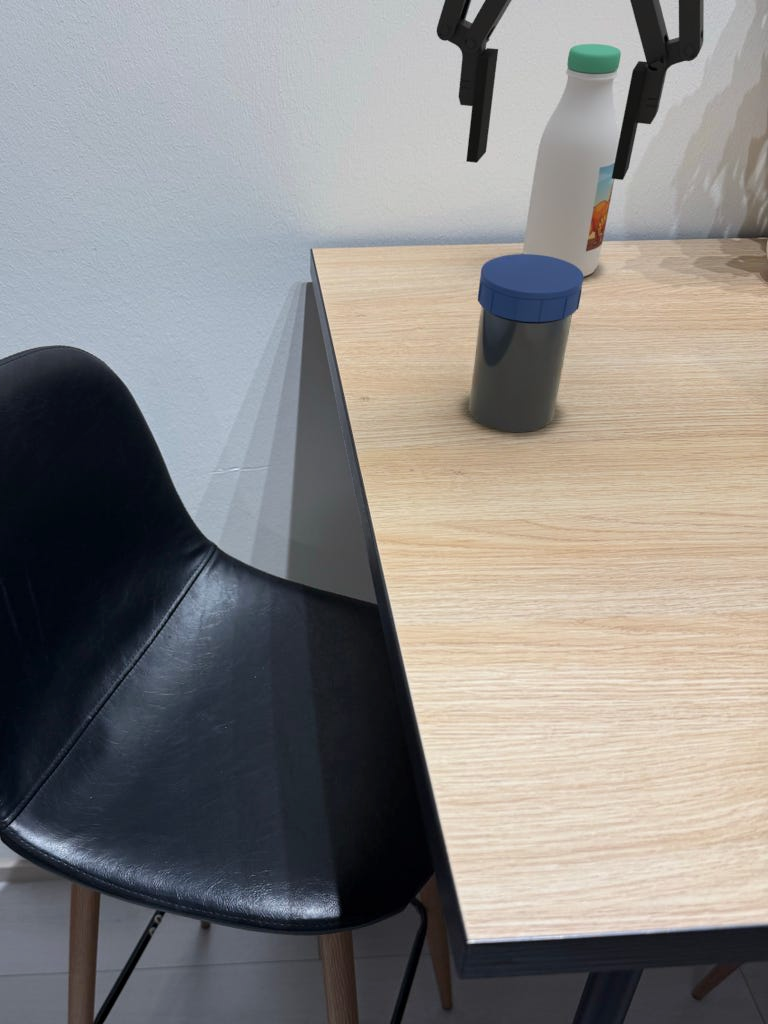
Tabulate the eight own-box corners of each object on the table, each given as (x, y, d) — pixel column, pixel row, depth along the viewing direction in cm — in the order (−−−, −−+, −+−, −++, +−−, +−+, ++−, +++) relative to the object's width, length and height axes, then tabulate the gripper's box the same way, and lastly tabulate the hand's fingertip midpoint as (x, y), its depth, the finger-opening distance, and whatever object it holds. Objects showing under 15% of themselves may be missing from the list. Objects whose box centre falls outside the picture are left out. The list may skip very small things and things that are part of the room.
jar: (528, 386, 87) (549, 258, 80) (569, 424, 82) (595, 292, 75) (454, 398, 86) (469, 269, 79) (492, 438, 81) (511, 304, 74)
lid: (547, 276, 82) (552, 248, 80) (597, 314, 76) (603, 285, 75) (461, 289, 80) (464, 260, 78) (506, 328, 75) (510, 298, 73)
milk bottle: (561, 287, 103) (599, 62, 90) (505, 263, 108) (534, 46, 95) (612, 269, 107) (657, 49, 94) (556, 247, 111) (591, 35, 98)
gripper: (829, -266, 57) (716, 167, 71) (438, -266, 63) (409, 133, 77) (828, -267, 51) (707, 201, 66) (402, -267, 57) (378, 162, 72)
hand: (546, 164), depth 72 cm, fingers open, 9 cm apart
